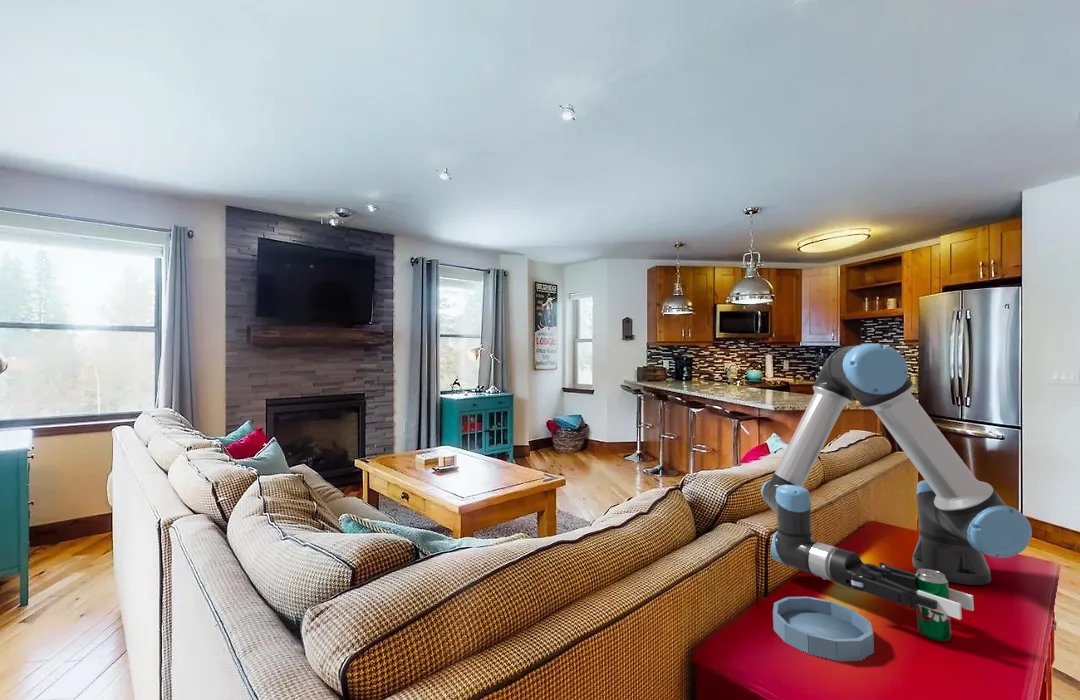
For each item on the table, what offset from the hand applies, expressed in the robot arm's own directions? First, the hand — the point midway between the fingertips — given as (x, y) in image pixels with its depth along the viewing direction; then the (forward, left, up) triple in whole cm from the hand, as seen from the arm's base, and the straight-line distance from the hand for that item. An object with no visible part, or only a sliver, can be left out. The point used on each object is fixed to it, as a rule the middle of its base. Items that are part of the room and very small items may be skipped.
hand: (966, 607), depth 88 cm
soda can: (0, -5, -8) cm, 9 cm away
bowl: (+18, -17, -8) cm, 26 cm away
